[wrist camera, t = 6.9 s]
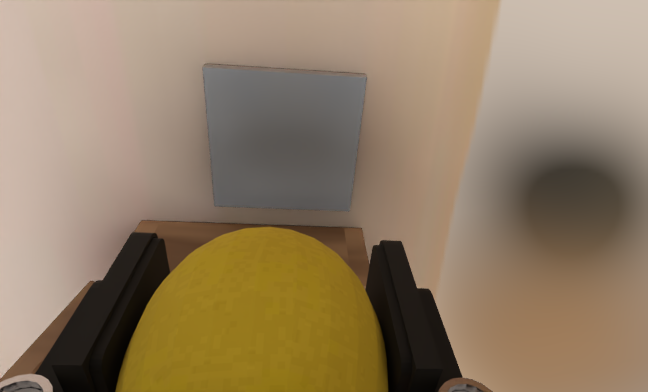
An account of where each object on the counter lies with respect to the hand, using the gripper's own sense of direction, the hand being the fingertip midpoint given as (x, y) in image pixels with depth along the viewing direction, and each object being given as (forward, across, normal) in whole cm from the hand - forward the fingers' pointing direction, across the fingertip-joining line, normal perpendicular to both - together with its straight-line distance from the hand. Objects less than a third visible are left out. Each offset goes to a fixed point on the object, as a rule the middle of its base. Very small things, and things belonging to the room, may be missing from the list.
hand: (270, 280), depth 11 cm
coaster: (+10, 0, 0) cm, 10 cm away
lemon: (+1, 0, 0) cm, 1 cm away
